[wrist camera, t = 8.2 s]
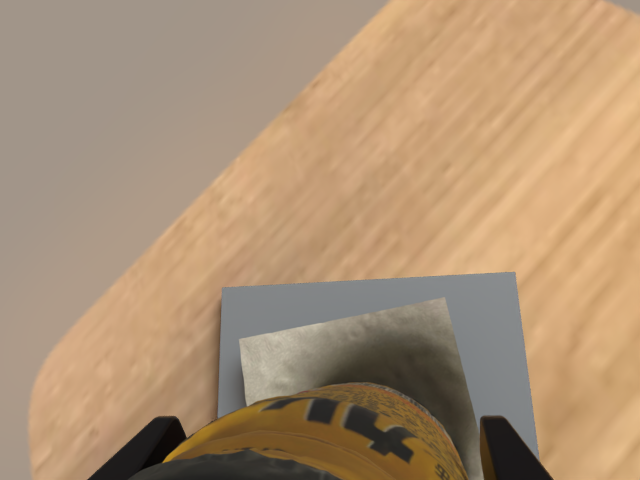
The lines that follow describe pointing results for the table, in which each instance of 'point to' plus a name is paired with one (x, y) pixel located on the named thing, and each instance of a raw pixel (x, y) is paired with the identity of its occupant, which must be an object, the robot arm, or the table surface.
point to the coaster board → (380, 294)
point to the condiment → (343, 406)
